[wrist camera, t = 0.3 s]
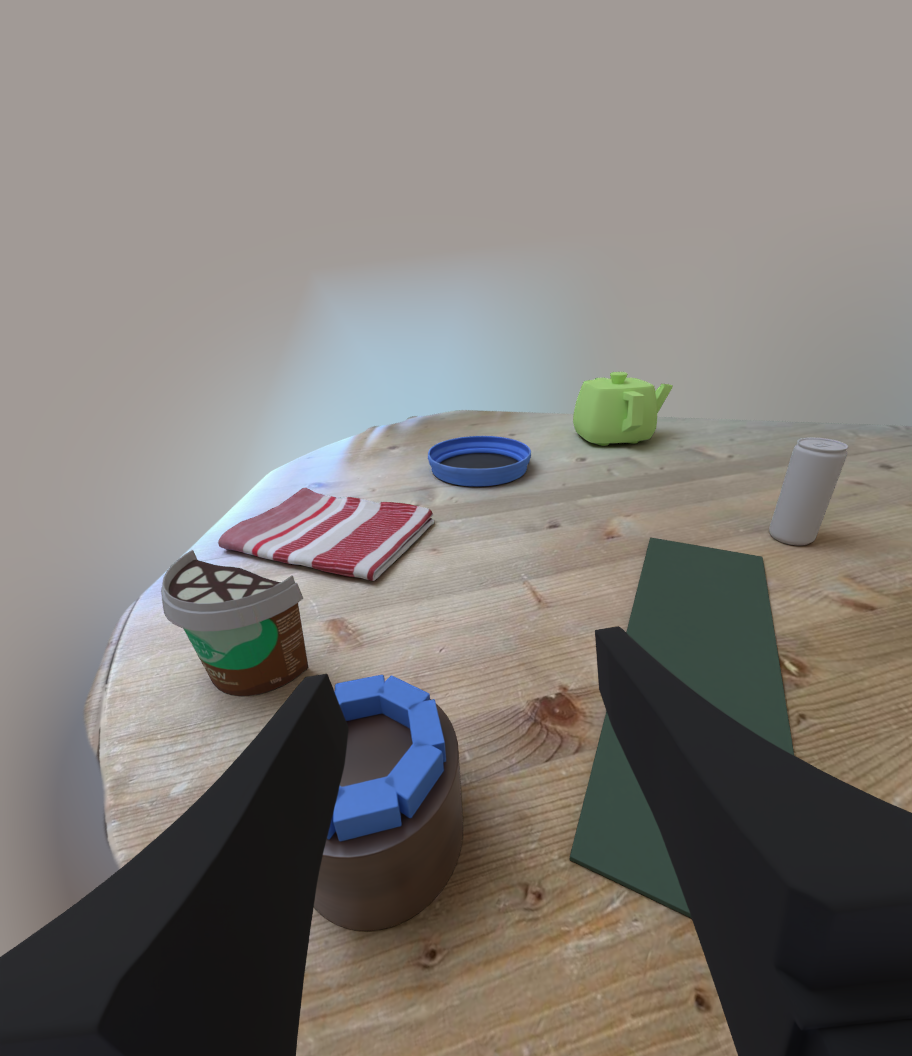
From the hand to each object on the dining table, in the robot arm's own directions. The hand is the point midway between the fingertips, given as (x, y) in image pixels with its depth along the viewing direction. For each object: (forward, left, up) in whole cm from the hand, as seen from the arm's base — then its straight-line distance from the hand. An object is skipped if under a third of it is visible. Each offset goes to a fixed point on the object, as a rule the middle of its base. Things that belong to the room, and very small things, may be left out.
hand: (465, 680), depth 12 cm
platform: (+7, +6, -20) cm, 22 cm away
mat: (+20, -20, -20) cm, 35 cm away
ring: (+7, +6, -13) cm, 16 cm away
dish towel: (+45, +18, -20) cm, 52 cm away
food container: (+20, +20, -20) cm, 35 cm away
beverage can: (+40, -40, -20) cm, 60 cm away
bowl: (+68, -3, -20) cm, 71 cm away
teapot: (+83, -33, -20) cm, 92 cm away
